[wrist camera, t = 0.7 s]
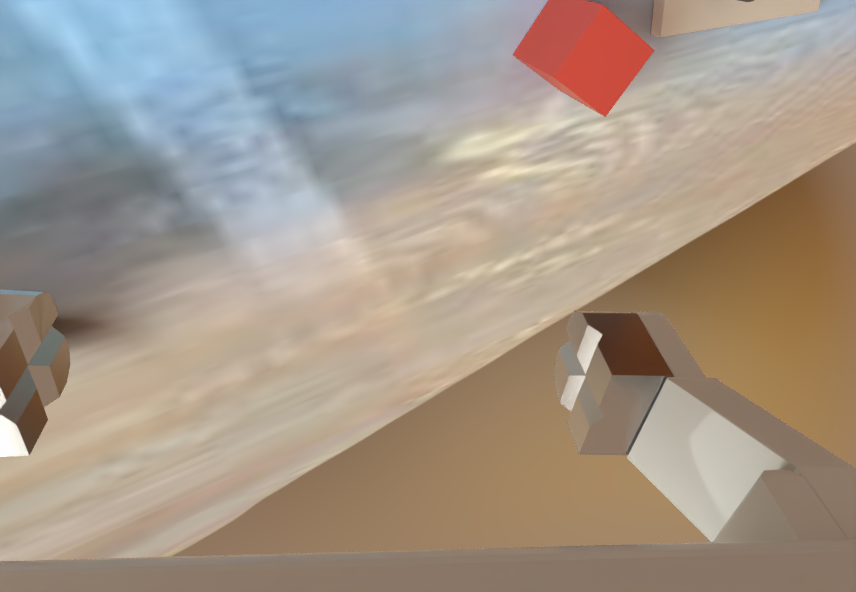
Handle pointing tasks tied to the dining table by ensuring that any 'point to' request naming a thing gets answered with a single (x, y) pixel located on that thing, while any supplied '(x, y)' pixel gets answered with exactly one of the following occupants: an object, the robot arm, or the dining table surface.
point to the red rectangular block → (584, 52)
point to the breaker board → (720, 13)
